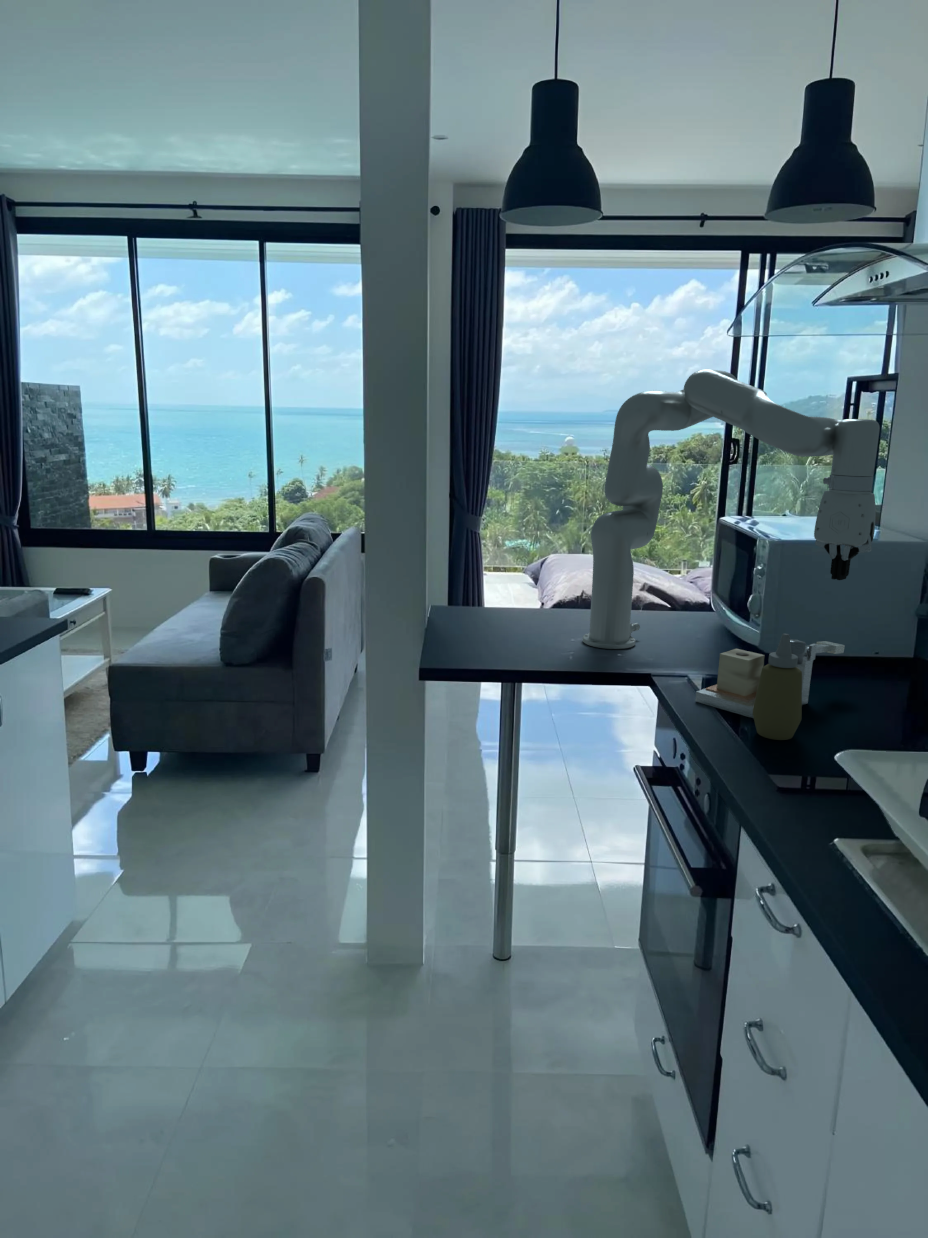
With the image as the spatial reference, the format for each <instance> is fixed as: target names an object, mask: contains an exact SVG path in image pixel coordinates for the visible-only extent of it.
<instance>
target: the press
mask: <svg viewBox="0 0 928 1238" xmlns="http://www.w3.org/2000/svg"><path fill="white" fill-rule="evenodd" d="M797 640H798V639H797ZM798 641H800V640H798ZM808 646H809V648H808V656H807V657H806V656H804V658H803V664H802V665H797V666H796V667H797V668H799V669H800V670H801V671H802V706H804V705H806V704H808V702H809V695H810V688H811V687H810V686H811V685H810V684H811V678H812V670H813V663H814V660H816V654H817V653H816V647H817V644H816V643H811V644H809V645H808ZM756 693H757V692H754V693H752V694H749V695H747V696H742V695H739V694H735V693H731V692H728V691H724V690H720V689H717V683H716V684H714V685H711V686H708V687H706V688H705V687H704V688H702V689H700V690H697V691H695V699H694V700H695V701H694V702H696V703H700V704H702V705H703V704H704V705H706V706H710V707H713V708H717V709H720V710H724V711H727V712H730V713H734V714H737V715H741V716H743V717H748V718H750V719H751V718H752V719H754V717H753V707H754V702H755V698H756Z"/></svg>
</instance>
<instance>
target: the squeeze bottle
mask: <svg viewBox="0 0 928 1238" xmlns="http://www.w3.org/2000/svg"><path fill="white" fill-rule="evenodd" d="M790 639H791V636H790V634H789V633H782V634H781V637H780V640H779V642H778V645H777V649H776V651H773V652H770V653H769V655H768V663H767V664H766V665H765V664H764V666H763V667H762V670H761V675H760V680H759V684H758V689H757V693H756V698H755V702H754V707H753V717H754V718H753V720H754V721H753V722H754V725H755V729H756V734H758V735H759V736H761V737H762V738H766V739H769V740H777V741H785V740H791V739H793V737H794V736H795V733H796V732H797V729H798V728H799V725H800V724H801V721H802V714H803V713H802V709H803V708H802V707H803V705H802V671H801V670H800V669H799V668H797V667H796V666H797V662H798V656H796V655H794V654H792V652H791V643H790Z"/></svg>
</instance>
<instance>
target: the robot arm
mask: <svg viewBox="0 0 928 1238" xmlns="http://www.w3.org/2000/svg"><path fill="white" fill-rule="evenodd" d="M712 418H716V419H718V420H720V421H722V422H725V423H726V424H728V425H732V426H734V427H736V428H738V429H741V430H743V431H744V432H745V433H746V434H748V435H750V436H752V437H754V438H756V439H757V440H759V441H761V442H763V443H765V444H767V445H769V446H771V447H773V448H776V449H778V450H780V451H783V452H785V453H788V454H790V455H793V456H797V457H802V458H804V457H805V458H806V457H824V456H832V462H831V469H830V470H831V471H830V474H829V476H828V477H827V476H825V477H823V484H824V485H827V486H828V487H827V488H828V490H824V491H823V493H822V497H821V500H820V504H819V507H818V510H817V513H816V514H817V515H816V518H815V519H816V520H815V524H814V530H813V537H814V539H815V542H814V544H815V546H817V547H819V548H822V549H824V550H825V551H826V552H827V554H828V555H829V558H830V559H831V563H830V572H829V573H830V575H831V577H830V578H831V580H835V581H844V580H846V579H847V577H848V576H849V574H850V568H851V567H850V566H851V560H853V559H854V558H855V557H856V556H857V555H858V554H864V553H870V552H872V551H873V547H872V545H873V544H872V542H873V541H874V537H875V530H876V517H877V516H876V512H877V509H876V497H875V493H872V490H873V483H874V473H875V466H876V458H877V451H878V444H879V436H880V424H879V422H878V421H877V420H873V419H864V418H846V419H838V418H831V417H825V416H823V417H821V416H808V415H805V414H802V413H799V412H797V411H795V410H791V409H789V408H787V407H784V406H782V405H781V404H778V403H776V402H774V401H773V400H771V399H770V398H769V396H768V394H767V392H766V391H765V390H764V389H760V388H758V387H756V386H753V385H750V384H748V383H745V382H743V381H740V380H738V379H737V378H736V376H735V375H733V374H732V373H731V372H728V371H724V370H718V369H709V368H705V369H700V370H697V371H694V372H693V373H692V374H691V375H689V376H688V378H687V379H686V381H685V382H684V385H683V388H682V389H681V390H678V391H675V392H674V391H666V390H665V391H664V390H647V391H646V390H645V391H642V392H639V393H636V394H633V395H632V396H630V397H629V398H627V400H625V401H624V402H623V403H622V405H621V406H620V407H619V409H618V411H617V413H616V417H615V422H614V427H613V429H614V430H613V436H612V437H613V438H612V445H611V450H610V455H609V459H608V460H609V461H608V466H607V472H606V476H605V477H606V478H605V483H604V484H605V485H604V494H605V497H606V499H607V501H608V502H609V503H611V504H612V505H614V506H618V507H622V509H620V510H613V511H609V512H605V513H603V514H601V515H600V516H599V517H597V519H596V520H595V521H594V523H593V525H592V527H591V533H590V539H591V548H592V581H591V582H592V583H591V597H590V600H591V601H590V617H589V632H588V633H585V634H584V635H582V642H583V643H584V644H585V645H588V646H591V647H594V648H600V649H608V650H624V649H629V648H632V647H634V646H635V645H636V638H635V637H633V636H632V633H633V632H637V631H640V629H641V625H640V623H639V622H635V623H631V620H632V619H631V618H632V616H631V615H632V603H633V602H632V601H633V587H634V575H635V574H634V573H635V572H634V571H635V570H634V568H635V567H634V561H633V557H632V552H631V550H632V551H633V550H637V549H640V548H643V547H645V546H646V545H648V544H649V543H650V541H651V540H652V539H653V537H654V535H655V532H656V528H657V523H658V518H659V513H660V508H661V503H662V499H663V493H664V492H663V490H664V485H663V479H662V476H661V474H660V472H659V470H658V469H657V468H655V467H654V466H653V465H650V464H648V459H649V455H650V451H651V447H650V445H651V444H650V436H649V433H650V432H653V431H663V432H664V431H665V432H666V431H667V432H669V431H671V432H672V431H673V432H674V431H681V430H684V429H688V428H689V427H690V428H691V427H692V426H694V425H697V424H699V423H702V422H704V421H707V420H709V419H712ZM842 545H843V546H844V547H842ZM842 549H843V551H842Z"/></svg>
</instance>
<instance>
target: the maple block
mask: <svg viewBox="0 0 928 1238" xmlns="http://www.w3.org/2000/svg"><path fill="white" fill-rule="evenodd" d="M765 657H766V656H765V654H762V653H757V652H753V651H747V650H744V649H739V648H733V649H731V650H728V651H724V652H721V653H719V658H718V659H719V661H718V670H717V671H718V672H717V680H716V684H717V689H720V690H724V691H728V692H731V693H735V694H739V695H742V696H747V695H749V694H752V693H754V692H757V689H758V684H759V680H760V675H761V670H762V667H764V666H765Z"/></svg>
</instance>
